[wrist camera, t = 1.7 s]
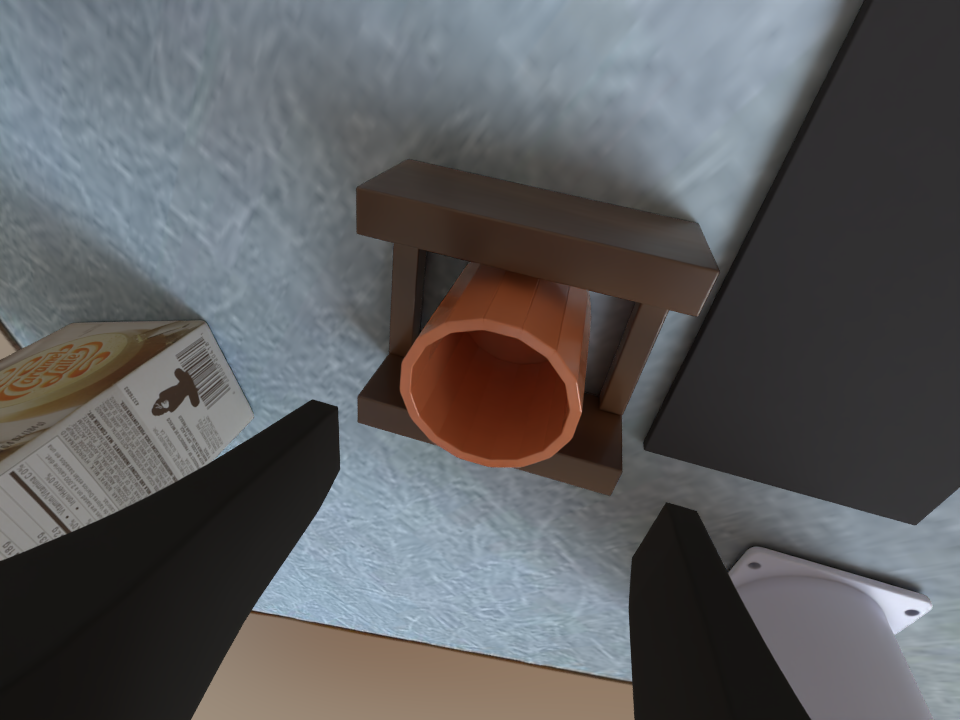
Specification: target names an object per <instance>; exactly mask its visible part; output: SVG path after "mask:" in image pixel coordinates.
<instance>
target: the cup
mask: <svg viewBox="0 0 960 720" xmlns="http://www.w3.org/2000/svg"><path fill="white" fill-rule="evenodd" d="M590 327H591V301H590V296H589V291H588V290H585V289H581V288H577V287H573V286H569V285H564V284H560V283H556V282H552V281H548V280H544V279H540V278H536V277H532V276H528V275H523V274H519V273H515V272H511V271H507V270H503V269H499V268H495V267H491V266H486V265H482V264H478V263H474V262H470V263H468V264H467V266H466V267H465V269H464V270H463V271H462V273H461V274H460V276H459V277H458V279H457V280H456V282H455V283H454V285H453V286H452V288H451V289H450V290H449V292H448V293H447V295H446V296H445V298H444V299H443V301H442V302H441V304H440V305H439V306H438V308H437V309H436V311H435V312H434V314H433V315H432V317H431V318H430V320H429V321H428V323H427V324H426V325H425V327H424V328H423V330H422V331H421V333H420V334H419V336H418V337H417V339H416V340H415V342H414V343H413V345H412V346H411V348H410V350H409V351H408V353H407V354H406V356H405V357H404V359H403V361H402V363H401V377H400V393H401V395H402V398H403V400H404V403H405V406H406V408H407V411H408V413H409V416H410V417H411V419H412V420H413V421H414V423H415V424H416V425H417V426H418V427H419V428H420V429H421V430H422V432H423V433H424V434H425V435H426V436H427V437H428V438H429V440H431V441H432V442H433V443H435V444H436V445H438V446H440V447H441V448H443V449H444V450H446V451H448V452H449V453H451V454H453V455H454V456H456V457H459V458H460V459H463V460H467V461H470V462H473V463H477V464H480V465H484V466H487V467H525V466H528V465H531V464H534V463H537V462H540V461H543V460H546V459H549V458H550V457H552V456H553V455H554V454H556V453H557V452H558V451H559V450H560V449H561V448H562V447H563V446H565V445H566V444H567V443H568V442H569V441H570V440H571V439H572V438H573V436H574V433H575V430H576V427H577V425H578V422H579V419H580V417H581V414H582V407H583V397H584V387H585V377H586V367H587V357H588V347H589V337H590Z"/></svg>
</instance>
